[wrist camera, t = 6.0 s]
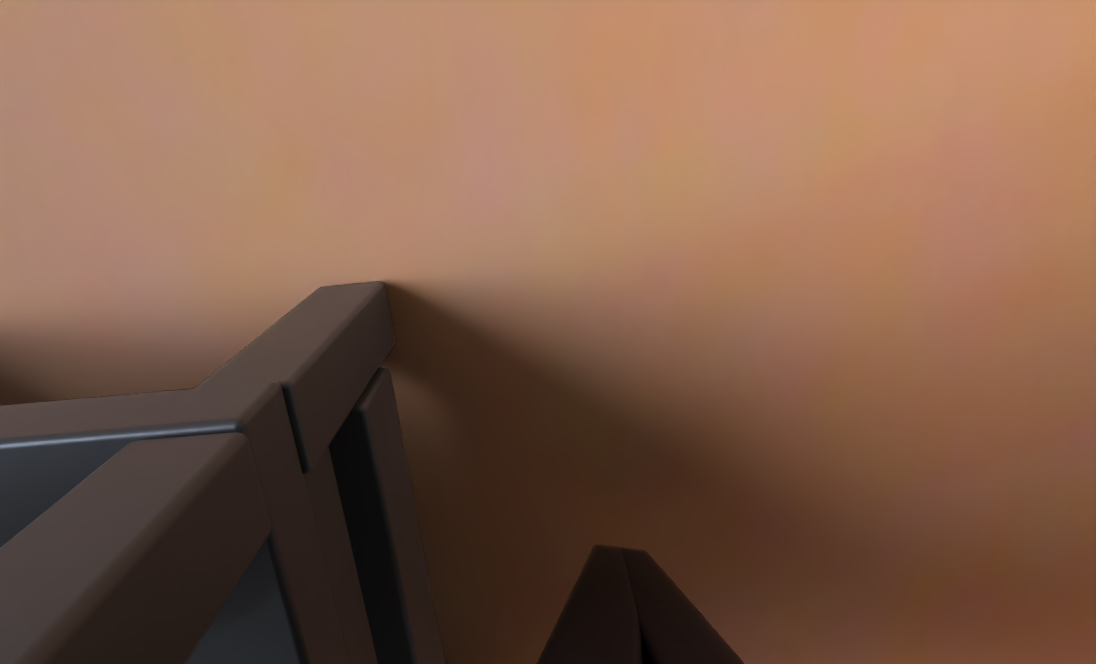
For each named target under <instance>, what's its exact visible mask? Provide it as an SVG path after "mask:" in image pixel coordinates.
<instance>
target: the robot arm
mask: <svg viewBox="0 0 1096 664" xmlns="http://www.w3.org/2000/svg"><path fill="white" fill-rule="evenodd" d="M537 664H745V663H744V662H743V661H742V660H741V659H740V658H739V657H738V655H737V654H736V653H735V652H734V651H733V650H732V649H731V647H730V646H729V645H728V644H727V643H726V642H725V640H724V639H723V638H722V637H721V636H720V635H719V634H718V632H717V631H716V630H715V629H714V628H713V627H712V626H711V624H710V623H709V622H708V621H707V620H706V619H705V618H704V616H703V615H702V614H701V613H700V612H699V611H698V610H697V608H696V607H695V606H694V605H693V604H692V603H691V602H690V600H689V599H688V598H687V597H686V596H685V595H684V594H683V592H682V591H681V590H680V589H679V588H678V587H677V586H676V584H675V583H674V582H673V581H672V580H671V579H670V577H669V576H668V575H667V574H666V573H665V572H664V571H663V569H662V568H661V567H660V566H659V565H658V564H657V563H656V561H655V560H654V559H653V558H652V557H651V556H650V555H649V553H647V552H646V551H645V550H642V549H634V548H625V547H616V546H608V545H599V544H598V545H594V546H593V547H592V549H591V551H590V553H589V556H588V558H587V560H586V562H585V564H584V566H583V568H582V570H581V572H580V574H579V576H578V579H577V581H576V583H575V585H574V587H573V589H572V591H571V593H570V595H569V597H568V599H567V602H566V604H565V606H564V608H563V610H562V612H561V614H560V616H559V618H558V620H557V623H556V625H555V627H554V629H553V631H552V633H551V635H550V637H549V639H548V641H547V643H546V646H545V648H544V650H543V652H542V654H541V656H540V658H539V660H538V662H537Z"/></svg>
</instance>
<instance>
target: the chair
mask: <svg viewBox="0 0 1096 664" xmlns="http://www.w3.org/2000/svg"><path fill="white" fill-rule="evenodd" d="M394 343H395V338H394V333H393V327H392V322H391V316H390V311H389V305H388V300H387V294H386V289H385V285H384V283H383V282H380V281H378V282H367V283H357V284H346V285H335V286H325V287H320V288H318V289H317V290H316V291H314V292H313V293H312V294H311V295H309V296H308V297H307V298H306V299H304V300H303V301H302V302H301V303H299V304H298V305H297V306H296V307H295V308H293V309H292V310H291V311H290V312H288V313H287V314H286V315H285V316H283V317H282V318H281V319H280V320H278V321H277V322H276V323H275V324H274V325H272V326H271V327H270V328H269V329H267V330H266V331H265V332H264V333H262V334H261V335H260V336H259V337H257V338H256V339H255V340H254V341H253V342H251V343H250V344H249V345H248V346H246V347H245V348H244V349H243V350H241V351H240V352H239V353H238V354H236V355H235V356H234V357H233V358H232V359H230V360H229V361H228V362H227V363H225V364H224V365H223V366H222V367H220V368H219V369H218V370H217V371H216V372H214V373H213V374H212V375H211V376H209V377H208V378H207V379H206V380H204V381H203V382H202V383H201V384H199V385H198V386H197V387H196V388H195V389H184V390H172V391H161V392H150V393H138V394H127V395H116V396H104V397H93V398H82V399H70V400H59V401H48V402H36V403H25V404H14V405H2V406H0V664H445V662H444V657H443V651H442V646H441V641H440V635H439V630H438V624H437V619H436V614H435V608H434V603H433V598H432V592H431V587H430V582H429V576H428V571H427V566H426V560H425V555H424V550H423V544H422V539H421V534H420V528H419V523H418V518H417V512H416V507H415V502H414V496H413V491H412V486H411V480H410V475H409V470H408V464H407V459H406V454H405V448H404V443H403V438H402V432H401V427H400V421H399V416H398V411H397V405H396V400H395V395H394V389H393V384H392V379H391V373H390V371H389V370H388V369H386V368H379V367H380V366H381V364H382V362H383V361H384V359H385V358H386V356H387V355H388V353H389V352H390V350H391V349H392V347H393V345H394Z"/></svg>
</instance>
